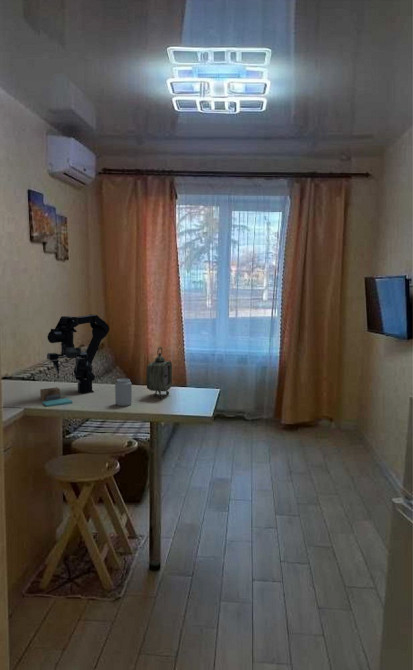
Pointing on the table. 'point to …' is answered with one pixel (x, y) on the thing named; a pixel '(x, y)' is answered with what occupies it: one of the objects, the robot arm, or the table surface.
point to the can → (123, 392)
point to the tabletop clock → (159, 375)
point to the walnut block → (49, 392)
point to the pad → (57, 402)
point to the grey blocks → (52, 397)
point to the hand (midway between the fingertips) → (67, 372)
